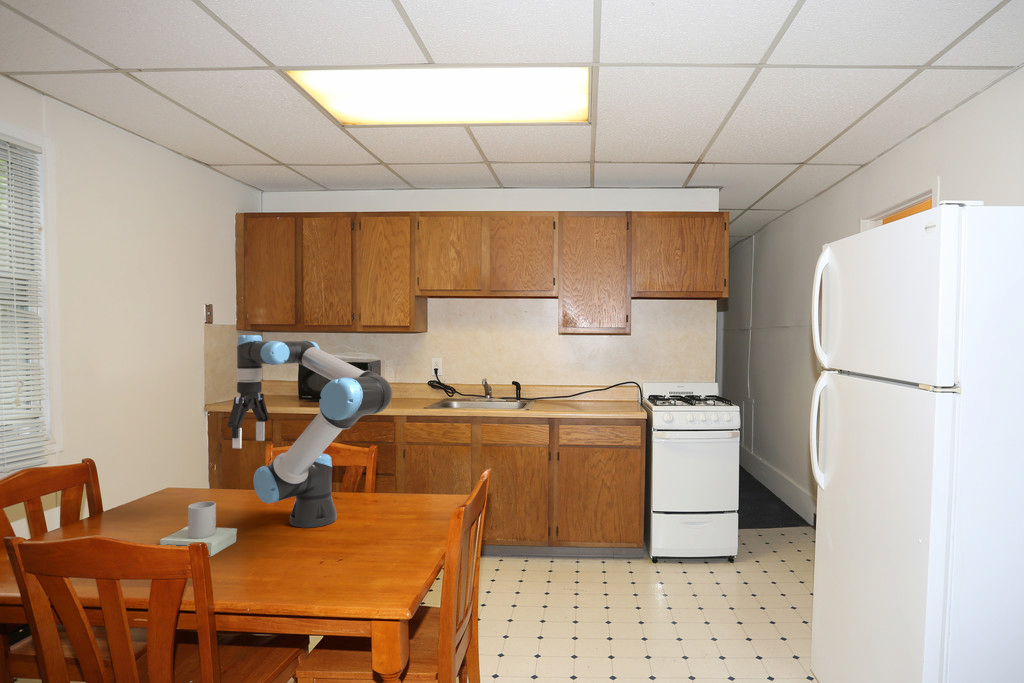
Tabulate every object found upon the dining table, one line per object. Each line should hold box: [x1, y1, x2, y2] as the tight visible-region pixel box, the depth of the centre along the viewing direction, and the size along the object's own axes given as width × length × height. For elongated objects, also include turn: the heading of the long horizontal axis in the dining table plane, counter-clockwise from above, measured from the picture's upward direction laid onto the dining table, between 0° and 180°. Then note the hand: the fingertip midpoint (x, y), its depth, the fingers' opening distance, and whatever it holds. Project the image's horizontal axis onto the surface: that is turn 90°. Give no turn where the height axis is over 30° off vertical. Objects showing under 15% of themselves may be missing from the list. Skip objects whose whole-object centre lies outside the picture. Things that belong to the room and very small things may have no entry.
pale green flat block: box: [159, 526, 238, 557], centre depth 169 cm, size 16×12×4 cm
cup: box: [187, 500, 217, 539], centre depth 169 cm, size 7×10×9 cm
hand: (249, 444), depth 190 cm, fingers open, 13 cm apart
